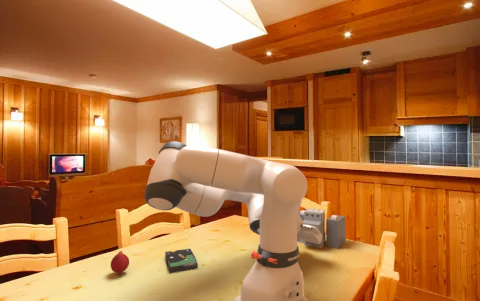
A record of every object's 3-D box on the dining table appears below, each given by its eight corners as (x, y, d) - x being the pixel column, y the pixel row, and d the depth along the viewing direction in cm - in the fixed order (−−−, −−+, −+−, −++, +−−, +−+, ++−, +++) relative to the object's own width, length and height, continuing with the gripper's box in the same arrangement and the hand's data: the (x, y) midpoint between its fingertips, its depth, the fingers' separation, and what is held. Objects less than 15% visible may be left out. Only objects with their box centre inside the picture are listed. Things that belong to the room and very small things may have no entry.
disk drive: (164, 258, 103) (169, 274, 90) (164, 251, 104) (169, 266, 90) (190, 254, 107) (198, 269, 94) (190, 248, 107) (198, 261, 94)
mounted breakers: (337, 248, 111) (337, 218, 111) (295, 238, 124) (295, 211, 124) (345, 242, 119) (345, 213, 119) (304, 233, 132) (304, 207, 132)
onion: (117, 279, 86) (117, 255, 86) (107, 275, 88) (106, 252, 88) (132, 272, 91) (132, 249, 91) (122, 268, 94) (121, 246, 93)
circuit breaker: (300, 249, 111) (300, 214, 111) (308, 239, 123) (308, 208, 123) (318, 253, 107) (318, 216, 107) (325, 242, 120) (325, 209, 119)
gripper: (318, 220, 95) (328, 239, 102) (271, 212, 108) (283, 229, 115) (313, 235, 91) (324, 254, 99) (265, 225, 104) (278, 242, 112)
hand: (301, 241), depth 107 cm, fingers closed
